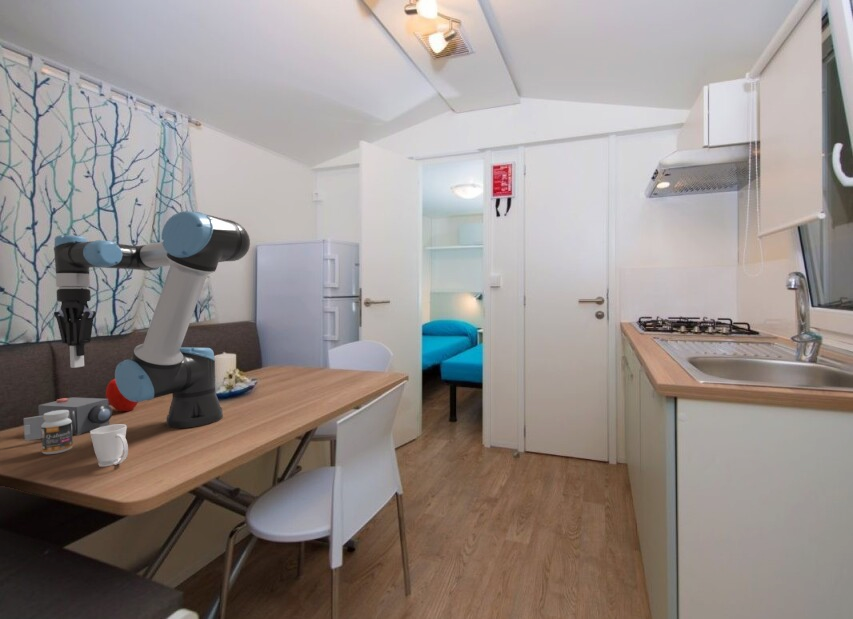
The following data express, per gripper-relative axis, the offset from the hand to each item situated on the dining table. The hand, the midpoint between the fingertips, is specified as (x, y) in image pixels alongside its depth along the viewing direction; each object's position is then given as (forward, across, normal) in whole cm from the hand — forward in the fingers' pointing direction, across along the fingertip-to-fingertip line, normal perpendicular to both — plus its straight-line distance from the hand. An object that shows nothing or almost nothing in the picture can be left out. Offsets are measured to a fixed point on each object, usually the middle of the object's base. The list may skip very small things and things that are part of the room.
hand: (77, 366), depth 118 cm
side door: (+18, -4, +10) cm, 21 cm away
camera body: (+18, -1, +1) cm, 18 cm away
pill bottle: (+19, -14, +16) cm, 29 cm away
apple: (+19, +3, -17) cm, 25 cm away
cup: (+19, -37, +20) cm, 46 cm away
